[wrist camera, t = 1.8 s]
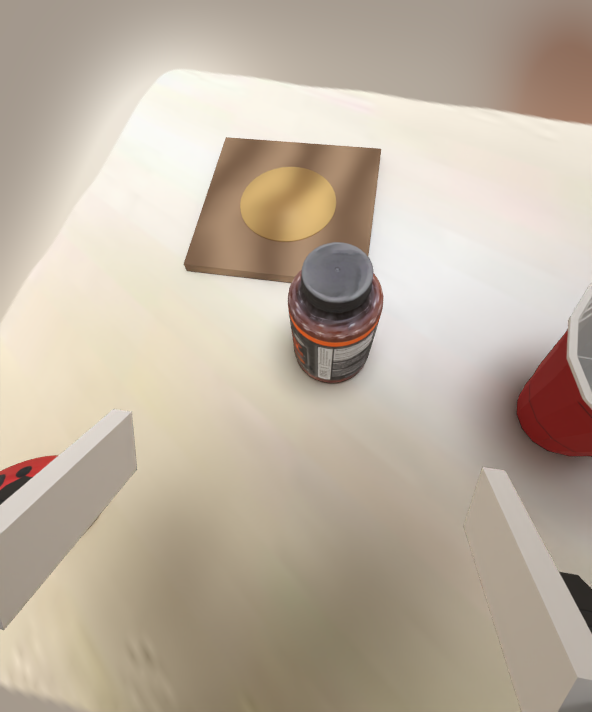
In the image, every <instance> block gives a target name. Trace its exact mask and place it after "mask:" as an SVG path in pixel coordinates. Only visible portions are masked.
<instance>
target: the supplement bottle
mask: <svg viewBox="0 0 592 712" xmlns="http://www.w3.org/2000/svg"><path fill="white" fill-rule="evenodd" d="M382 307H383V292H382V288H381V285H380V283H379V280H378V279H377V277H376V276H375V274H374V273H373V266H372V263H371V261H370V259H369V257H368V256H367V255H366V254H365V253H364V252H363V251H362V250H361V249H359V248H358V247H356V246H353V245H351V244H347V243H341V242H333V243H327V244H324V245H322V246H319V247H317V248H316V249H314V250H313V251H312V252H311V253H309V254H308V256H307V257H306V259H305V261H304V263H303V266H302V269H301V270H300V271H299V272H298V274H297V275H296V276H295V278H294V279H293V281H292V283H291V286H290V288H289V293H288V308H289V317H290V323H291V329H292V336H293V343H294V351H295V355H296V358H297V360H298V363H299V364H300V366H301V367H302V369H303V370H304V371H305V372H306V373H307V374H308V375H309V376H311V377H312V378H314V379H316V380H319V381H323V382H329V383H336V382H342V381H345V380H347V379H350V378H352V377H353V376H354V375H356V374H357V373H358V372H359V371H360V370H361V369H362V368H363V366H364V364H365V362H366V360H367V358H368V355H369V351H370V348H371V345H372V342H373V339H374V336H375V332H376V329H377V326H378V322H379V319H380V315H381V312H382Z"/></svg>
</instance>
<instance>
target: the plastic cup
mask: <svg viewBox="0 0 592 712" xmlns="http://www.w3.org/2000/svg"><path fill="white" fill-rule="evenodd" d="M517 416H518V419H519V421H520V424H521V427H522V429H523V430H524V431H525V433H526V434H527V435H528V436H529V437H530V439H531V440H532V441H533V442H535V443H536V444H538V445H539V446H541V447H543V448H544V449H546V450H547V451H551V452H555V453H559V454H563V455H567V456H592V283H591V284H590V285H589V286H588V288H587V290H586V291H585V293H584V295H583V296H582V298H581V300H580V301H579V303H578V305H577V306H576V308H575V310H574V311H573V313H572V315H571V316H570V318H569V320H568V329H567V331H566V332H565V334H564V335H563V336H562V337H561V339H560V340H559V341H558V342H557V344H556V345H555V346H554V347H553V349H552V350H551V351H550V352H549V354H548V355H547V356H546V357H545V359H544V360H543V361H542V362H541V364H540V365H539V366H538V368H537V370H536V371H535V373H534V375H533V376H532V377H531V378H530V379H529V381H528V382H527V383H526V384H525V386H524V388H523V390H522V391H521V393H520V395H519V398H518V400H517Z"/></svg>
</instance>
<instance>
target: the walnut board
mask: <svg viewBox="0 0 592 712" xmlns="http://www.w3.org/2000/svg"><path fill="white" fill-rule="evenodd" d="M380 154H381V149H376V148H362V147H349V146H335V145H322V144H308V143H295V142H281V141H267V140H254V139H240V138H227V137H226V139H225V142H224V145H223V148H222V151H221V154H220V157H219V160H218V163H217V166H216V169H215V172H214V175H213V178H212V181H211V184H210V187H209V190H208V193H207V196H206V199H205V202H204V205H203V208H202V211H201V214H200V217H199V220H198V223H197V226H196V229H195V232H194V235H193V238H192V241H191V244H190V247H189V250H188V253H187V256H186V259H185V262H184V266H185V268H186V270H187V271H194V272H203V273H211V274H220V275H229V276H237V277H246V278H255V279H263V280H272V281H281V282H290V283H292V281H293V279H294V278H295V276H296V275H297V274H298V272H299V271H300V270H301V269H302V266H303V263H304V261H305V259H306V257H307V256H308V254H309V253H311V252H312V251H313V250H314V249H316V248H317V247H319V246H322V245H324V244H327V243H333V242H341V243H347V244H351V245H353V246H356V247H358V248H359V249H361V250H362V251H363V252H364V253H365V254H366V255H367V256H368V254H369V245H370V237H371V229H372V221H373V212H374V204H375V196H376V188H377V179H378V171H379V163H380Z"/></svg>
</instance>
